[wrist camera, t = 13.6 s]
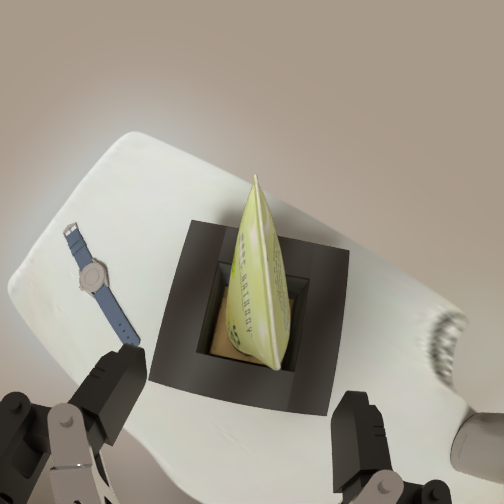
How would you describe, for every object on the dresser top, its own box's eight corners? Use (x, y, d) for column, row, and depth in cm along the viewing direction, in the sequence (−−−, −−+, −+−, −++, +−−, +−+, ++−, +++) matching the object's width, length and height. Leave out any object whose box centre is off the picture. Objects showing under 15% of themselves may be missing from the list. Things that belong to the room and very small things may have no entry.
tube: (213, 328, 28) (157, 254, 10) (248, 292, 29) (256, 169, 11) (255, 367, 27) (278, 372, 9) (290, 330, 28) (370, 261, 10)
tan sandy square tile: (291, 301, 30) (293, 299, 29) (279, 367, 28) (280, 367, 27) (226, 288, 31) (225, 286, 30) (211, 353, 28) (210, 353, 27)
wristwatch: (79, 218, 35) (76, 214, 35) (149, 338, 30) (146, 337, 29) (57, 235, 34) (54, 232, 33) (122, 359, 29) (119, 358, 28)
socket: (332, 273, 33) (360, 242, 25) (310, 412, 27) (335, 428, 19) (198, 247, 34) (184, 208, 26) (163, 382, 28) (134, 387, 20)
